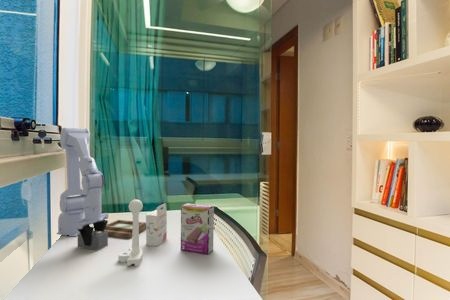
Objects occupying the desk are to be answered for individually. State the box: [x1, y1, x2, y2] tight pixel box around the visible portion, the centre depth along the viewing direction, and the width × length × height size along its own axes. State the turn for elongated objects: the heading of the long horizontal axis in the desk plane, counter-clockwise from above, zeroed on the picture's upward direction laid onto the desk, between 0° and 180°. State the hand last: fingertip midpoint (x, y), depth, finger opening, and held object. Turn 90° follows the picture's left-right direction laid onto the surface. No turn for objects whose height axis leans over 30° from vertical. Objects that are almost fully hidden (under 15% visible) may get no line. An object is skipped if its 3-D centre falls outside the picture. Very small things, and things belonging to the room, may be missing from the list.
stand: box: [104, 219, 146, 240], centre depth 122 cm, size 14×14×3 cm
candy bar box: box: [180, 202, 215, 255], centre depth 102 cm, size 11×5×16 cm, turn 71°
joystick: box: [117, 198, 144, 267], centre depth 93 cm, size 11×8×20 cm
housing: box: [77, 229, 109, 251], centre depth 105 cm, size 9×5×6 cm, turn 75°
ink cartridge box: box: [145, 202, 168, 247], centre depth 110 cm, size 9×5×15 cm, turn 168°
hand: (93, 242), depth 105 cm, fingers closed on housing, 5 cm apart
